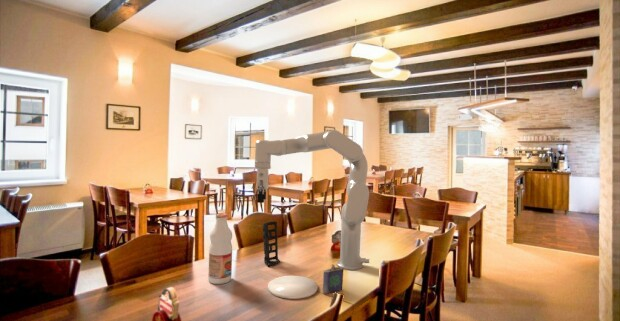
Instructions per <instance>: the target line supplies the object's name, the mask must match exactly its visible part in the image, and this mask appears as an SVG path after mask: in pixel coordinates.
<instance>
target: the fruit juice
mask: <svg viewBox="0 0 620 321" xmlns="http://www.w3.org/2000/svg"><path fill="white" fill-rule="evenodd" d="M228 217H229V216H228V213H225V212H223V213H216V214H215V220H216V221H215V224H214V227H213V228H212V230H210V233H209V239H210V243H209V247H208V248H209V249H208V282H209V283H211V284H213V285H222V284H226V283H229V282H230V281H231V280H232V272H233V271H232V268H233V267H232V265H233V244H232V238H233V232H232V230H231V228H230V227H229V225H228V221H227V220H228Z"/></svg>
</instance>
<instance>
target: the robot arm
mask: <svg viewBox="0 0 620 321" xmlns="http://www.w3.org/2000/svg"><path fill="white" fill-rule="evenodd" d="M254 147H255V148H254V149H255V150H254V151H255V152H254V169H256V189H257V196H256V197H257V198H256V202H257V203H259V204H260V203H261V204H262V203H263V204H264V203H265V200H266V199H267V190H268V188H269V170H270V169H271V166H272V164H271V159H272V156H277V157H282V156H286V155H291V154H298V153H310V152H316V151H323V150H328V149H329V150H330V149H332V150H333V151H335V152H336V153H337V154H340V156H342V157H343V158H344V159H345V160H346V161H348V164H349V176H348V179H347V184H346V191H345V192H346V194H347V202H345V203H344V204H343V205H342V207H341V212H340V215H341V216H340V217H341V218H340V220H341V224H340V225H341V229H340V232H341V234H340V249H339V250H340V252H339V254H340V256H339V260H337V261H336V266H337V267H341V268H343V269H344V270H349V271H354V270H360V269H362V268H363V264H369V263H370V258H366V257H361V232H362V230H361V229H362V226H361V224H362V223H363V222H364V220H365V218H366V214H367V208H368V205H369V198H370V189H369V187H368V185H367V184H366V183H367V176H368V168H369V166H368V160H367V158H366V155H365V154H364V151H363V148H362V147H361V145H360V144H358V143H357V142H355V141H354V140H352V139H351V138H349V137H348V136H346V135H345V134H343V133H342V132H340V131H339V130H336V129H331V130H326V131H320V132H314V133H308V134H307V133H306V134H304V135H301V136H297V137H294V138H288V139H282V140H280V139H278V140H265V139H259V140H256V141H255V145H254Z"/></svg>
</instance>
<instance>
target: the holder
mask: <svg viewBox="0 0 620 321" xmlns="http://www.w3.org/2000/svg"><path fill="white" fill-rule="evenodd" d="M269 226H274V227H273V228H272V229H269ZM273 233H274V235H272V234H273ZM273 239H274V242H270V240H273ZM262 240H263V252H264V257H263V258H264V259H263V260H264V261H263V262H264V264H265V265H266V266H267V267H268V268H271V267H273V266H277V265H279V264H280V263H281V260H280V259H279V254H278V253H279V252H278V250H279V248H278V247H279V245H278V223H277V221H268V222H264V223H262ZM273 246H274V247H275V248H274V249H273ZM271 253H275V254H274V256H270V254H271Z"/></svg>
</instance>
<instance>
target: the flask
mask: <svg viewBox="0 0 620 321" xmlns="http://www.w3.org/2000/svg"><path fill="white" fill-rule="evenodd" d="M344 270H345V269H343V268H341V267H338V266H337V267H336V266H335V264H331V267H330V268H328V269H325V270H323V278H322V294H323V295H329V294H334V293H337V292H342V291H343V282H344Z"/></svg>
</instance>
